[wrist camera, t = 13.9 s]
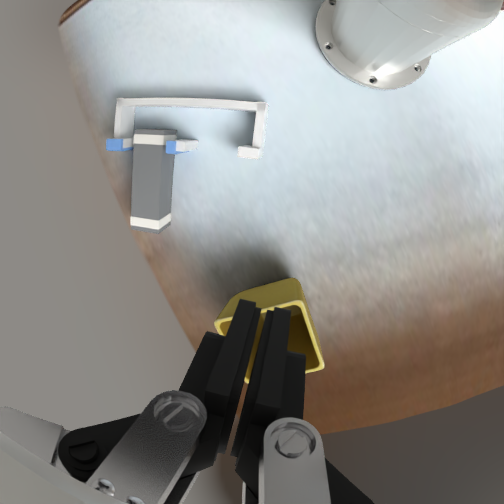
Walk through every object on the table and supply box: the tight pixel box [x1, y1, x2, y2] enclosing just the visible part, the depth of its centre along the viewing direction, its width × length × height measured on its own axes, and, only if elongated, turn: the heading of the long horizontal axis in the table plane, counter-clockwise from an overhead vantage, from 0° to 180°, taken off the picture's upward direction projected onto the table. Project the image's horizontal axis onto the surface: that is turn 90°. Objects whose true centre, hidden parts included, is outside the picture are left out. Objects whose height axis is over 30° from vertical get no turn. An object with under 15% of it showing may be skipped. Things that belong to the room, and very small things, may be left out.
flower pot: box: [214, 278, 324, 383], centre depth 33 cm, size 9×9×9 cm
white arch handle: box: [106, 98, 269, 160], centre depth 29 cm, size 6×16×4 cm, turn 83°
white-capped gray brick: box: [131, 129, 177, 234], centre depth 32 cm, size 11×4×4 cm, turn 173°
